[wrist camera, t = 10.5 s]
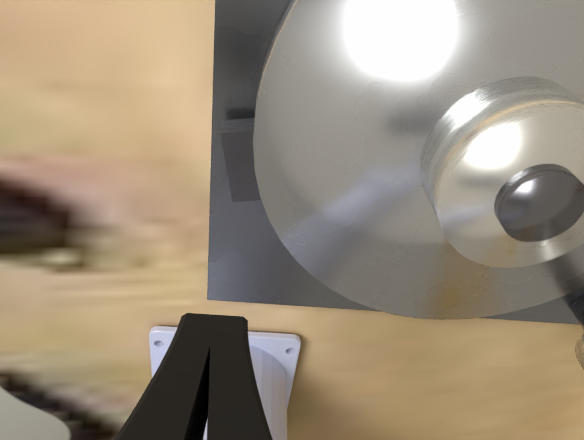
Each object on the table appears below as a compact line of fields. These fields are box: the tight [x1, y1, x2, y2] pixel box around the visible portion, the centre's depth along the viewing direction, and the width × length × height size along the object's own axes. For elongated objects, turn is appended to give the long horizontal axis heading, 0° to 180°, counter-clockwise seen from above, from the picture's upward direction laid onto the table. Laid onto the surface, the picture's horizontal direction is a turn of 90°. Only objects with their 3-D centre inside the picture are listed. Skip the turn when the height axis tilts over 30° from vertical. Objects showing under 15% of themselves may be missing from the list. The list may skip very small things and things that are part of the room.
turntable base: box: [207, 0, 584, 369], centre depth 15 cm, size 20×20×7 cm
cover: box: [420, 76, 584, 268], centre depth 15 cm, size 6×6×3 cm
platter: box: [220, 0, 584, 320], centre depth 15 cm, size 18×17×5 cm
